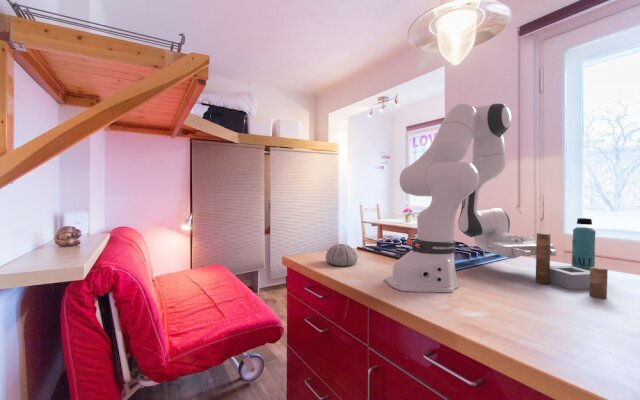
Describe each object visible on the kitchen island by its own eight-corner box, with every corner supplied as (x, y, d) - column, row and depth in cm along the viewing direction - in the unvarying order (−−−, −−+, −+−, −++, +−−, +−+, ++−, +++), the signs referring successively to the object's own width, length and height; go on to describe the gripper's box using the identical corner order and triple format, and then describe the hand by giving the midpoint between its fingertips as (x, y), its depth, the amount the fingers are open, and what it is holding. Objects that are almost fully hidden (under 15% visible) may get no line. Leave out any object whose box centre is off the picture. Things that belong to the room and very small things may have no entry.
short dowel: (599, 298, 82) (599, 270, 82) (585, 294, 86) (586, 267, 85) (610, 298, 83) (611, 269, 82) (596, 293, 86) (597, 266, 86)
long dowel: (542, 284, 94) (543, 234, 94) (532, 281, 98) (533, 233, 97) (552, 284, 95) (553, 234, 94) (542, 280, 98) (543, 233, 98)
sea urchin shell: (347, 258, 131) (347, 240, 131) (364, 265, 119) (364, 246, 118) (319, 261, 125) (320, 242, 125) (335, 269, 113) (335, 248, 113)
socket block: (571, 289, 90) (571, 274, 90) (542, 279, 100) (543, 266, 100) (600, 288, 91) (600, 273, 91) (569, 278, 101) (569, 265, 101)
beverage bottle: (585, 270, 111) (586, 217, 111) (600, 275, 105) (601, 219, 104) (566, 270, 112) (567, 217, 111) (580, 275, 105) (581, 218, 105)
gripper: (483, 237, 109) (512, 244, 95) (534, 236, 111) (569, 243, 98) (483, 254, 109) (512, 264, 95) (533, 253, 112) (568, 262, 98)
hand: (541, 253), depth 97 cm, fingers open, 8 cm apart
